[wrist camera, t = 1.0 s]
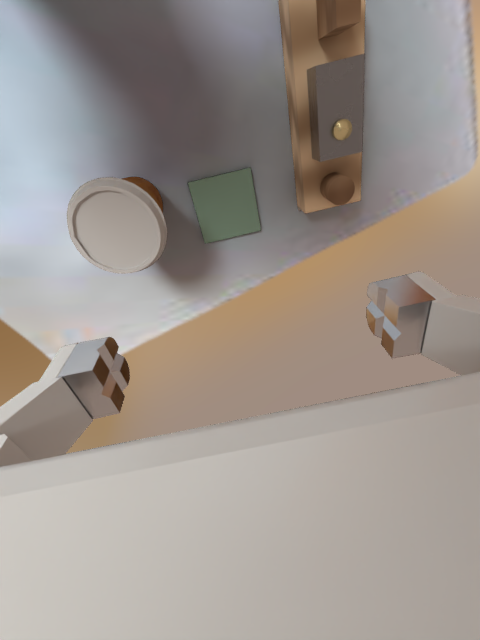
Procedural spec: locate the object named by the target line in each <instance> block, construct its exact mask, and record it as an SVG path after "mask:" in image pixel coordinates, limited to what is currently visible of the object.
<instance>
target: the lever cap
mask: <svg viewBox="0 0 480 640" xmlns="http://www.w3.org/2000/svg"><path fill="white" fill-rule="evenodd" d="M364 59H365V54H361V55H357V56H353V57H349V58H345V59H341V60H337V61H333V62H329V63H325V64H321V65H317V66H314V67H312V68H310V69H307V84H308V101H309V117H310V134H311V150H312V159H314V160H317V161H319V162H322V161H326V160H331V159H335V158H339V157H343V156H347V155H351V154H355V153H360V152H362V144H363V102H364Z"/></svg>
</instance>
